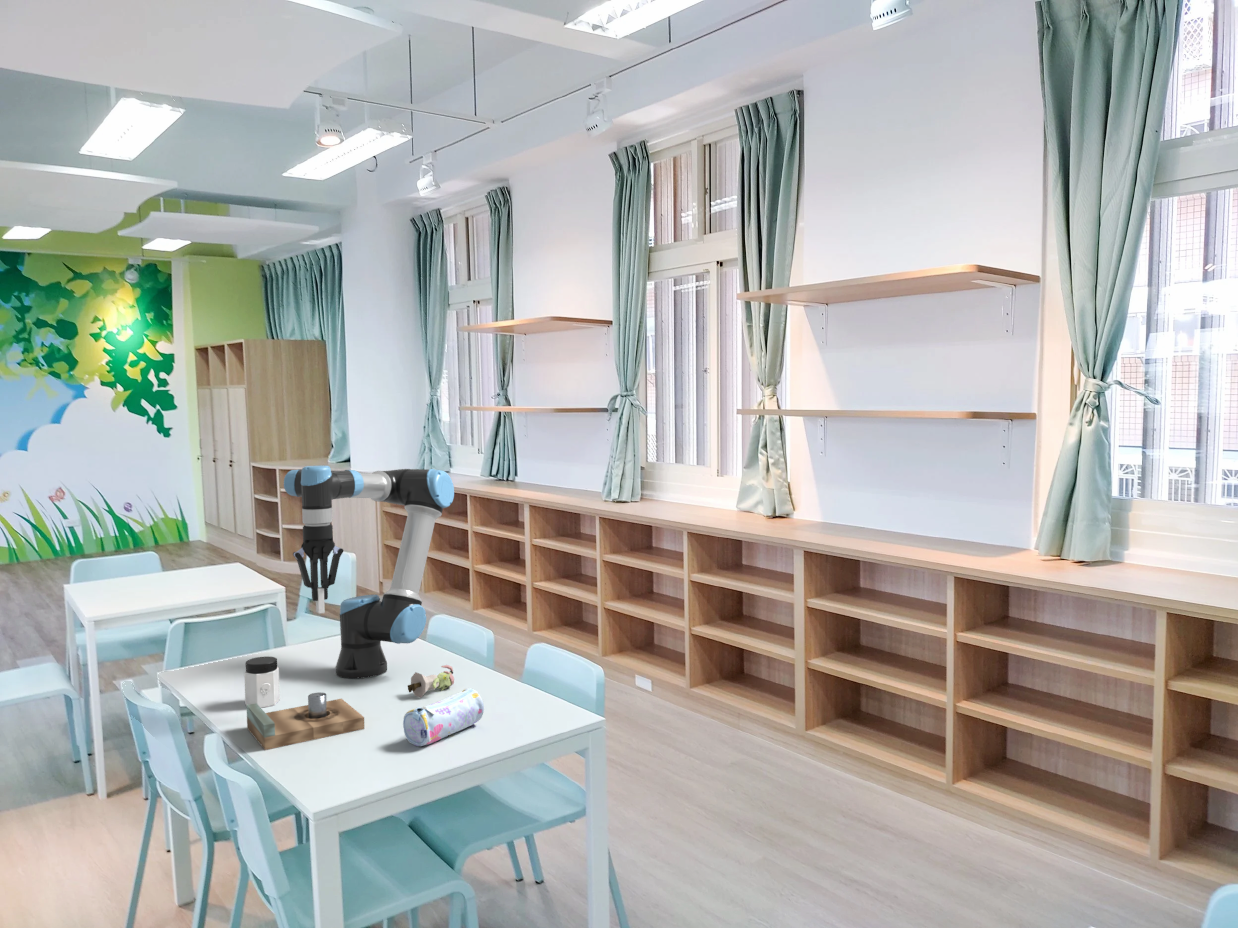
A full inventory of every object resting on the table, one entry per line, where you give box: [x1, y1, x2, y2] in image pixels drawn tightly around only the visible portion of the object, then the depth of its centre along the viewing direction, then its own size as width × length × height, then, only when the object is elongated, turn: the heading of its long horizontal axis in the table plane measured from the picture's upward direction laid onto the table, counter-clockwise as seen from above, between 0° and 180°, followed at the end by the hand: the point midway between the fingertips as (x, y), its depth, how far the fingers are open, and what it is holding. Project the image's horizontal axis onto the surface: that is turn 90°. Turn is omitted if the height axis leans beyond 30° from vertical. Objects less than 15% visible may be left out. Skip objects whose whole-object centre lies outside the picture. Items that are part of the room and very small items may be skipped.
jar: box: [243, 655, 281, 709], centre depth 249 cm, size 9×8×12 cm
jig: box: [246, 698, 365, 751], centre depth 230 cm, size 24×18×6 cm
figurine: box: [407, 664, 455, 698], centre depth 258 cm, size 9×7×15 cm
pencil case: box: [402, 688, 485, 747], centre depth 225 cm, size 21×9×10 cm, turn 144°
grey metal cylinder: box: [307, 692, 327, 719], centre depth 231 cm, size 4×4×8 cm
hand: (320, 612), depth 243 cm, fingers closed
